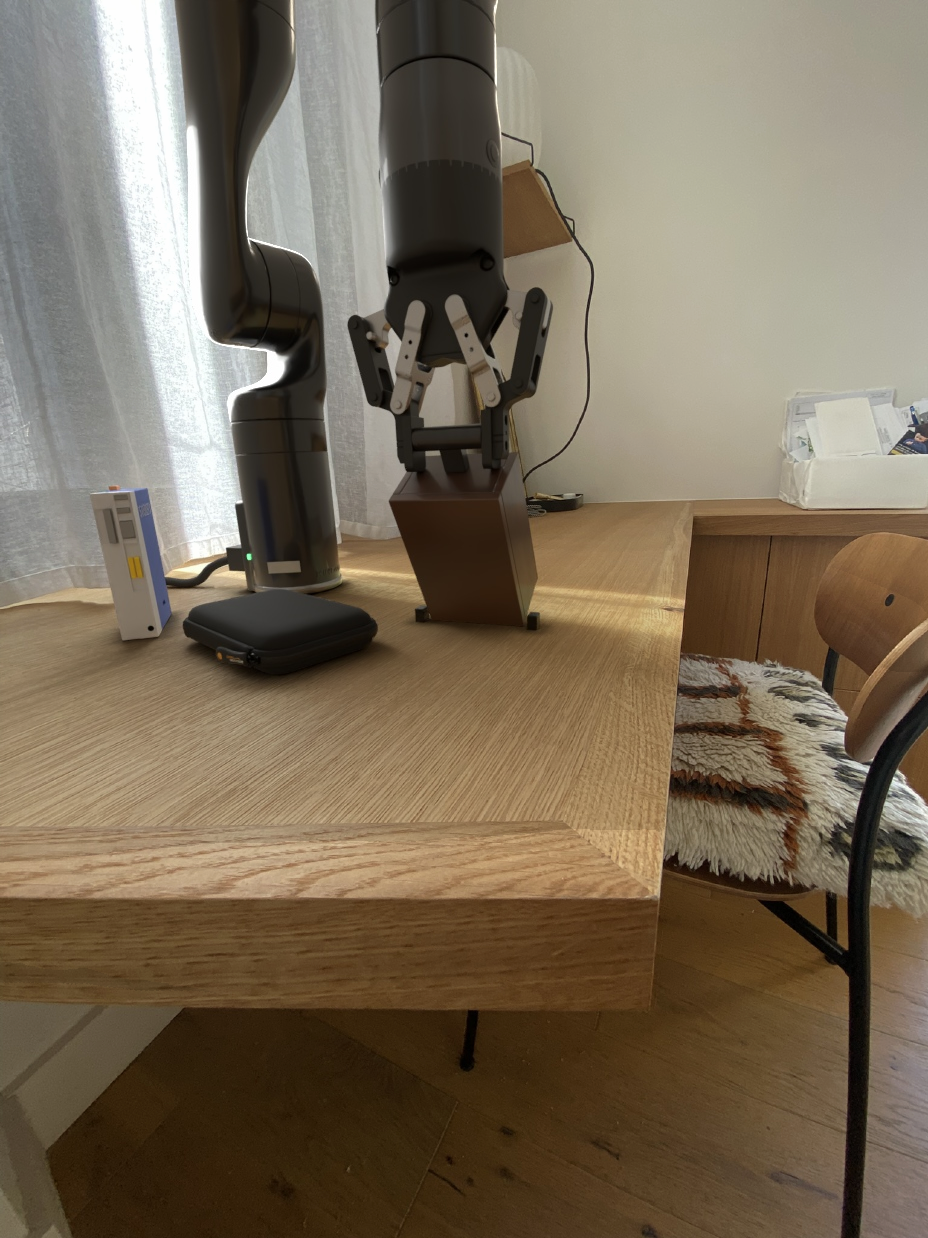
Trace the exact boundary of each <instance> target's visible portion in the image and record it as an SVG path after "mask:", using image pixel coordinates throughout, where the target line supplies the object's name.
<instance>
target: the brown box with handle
mask: <svg viewBox="0 0 928 1238" xmlns="http://www.w3.org/2000/svg"><path fill="white" fill-rule="evenodd" d="M412 444H413V447H414V449H415V450H416V451H417V452H422V451H425V452H439V454H440V455H426V469H425V471H424V472H407V471H405V473H404V475H403V476H402V478H401V480H400V481H399V483H398V484H397V486H396V488H395V489H394V491H393V492H392V495H391V496H390V497H389V499H388V504H389V507H390V509H391V512H392V515H393V518H394V521H395V524H396V526H397V529H398V531H399V534H400V538H401V540H402V543H403V546H404V548H405V551H406V554H407V557H408V559H409V562H410V565H411V567H412V570H413V573H414V576H415V579H416V581H417V583H418V586H419V589H420V592H421V596H422V597H423V600H424V603H425V606H427V609H428V611H429V618H430V619H431V620H432V621H443V622H457V623H472V624H487V625H499V626H500V625H501V626H517V627H524V626H525V622H526V620H527V615H528V614H529V609H530V606H531V601H532V599H533V596H534V592H535V588H536V586H537V582H538V579H539V576H538V568H537V562H536V557H535V551H534V544H533V538H532V532H531V525H530V519H529V513H528V507H527V500H526V494H525V488H524V482H523V481H524V480H523V476H522V469H521V462H520V456H519V452H518V451H509V454H508V456H507V459H501V467H500V468H499V469H484V468H483V466H482V453H467V450H482V447H481V422H480V423H467V424H466V423H465V424H451V425H436V426H434V425H433V426H424V427H417V428H414V430H413V432H412Z"/></svg>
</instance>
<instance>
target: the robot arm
mask: <svg viewBox="0 0 928 1238" xmlns="http://www.w3.org/2000/svg"><path fill="white" fill-rule="evenodd" d="M173 1H174V11H175V19H176V20H175V21H176V26H177V27H176V28H177V37H178V45H179V54H180V64H181V65H180V66H181V76H182V88H183V90H182V91H183V101H184V110H185V113H184V114H185V125H186V126H185V127H186V128H185V129H186V143H187V144H186V145H187V165H188V166H187V172H188V173H187V177H188V179H187V180H188V182H187V183H188V186H187V187H188V258H189V259H188V261H189V265H188V266H189V281H190V282H189V283H190V290H191V291H190V292H191V297H192V298H191V299H192V304H193V309H194V313H195V315H196V318H197V321H198V324H199V326H200V328H201V330H202V331H203V333H204V335H205V336H206V337H207V338H208V339H209V340H211V342H213V343H214V344H217V345H221V346H225V347H229V348H230V347H231V348H238V349H247V350H255V351H262V352H267V372H266V374H265V375H264V377H263V378H262V379H261V380H259V381H258V382H256V383H253V384H251V385H248V386H245V387H242V388H239V389H236V390H234V391H233V392H231V393H230V394H229V396H228V399H227V409H228V416H229V422H230V429H231V436H232V444H233V449H234V455H235V463H236V470H237V476H238V481H239V489H240V495H241V496H240V497H241V499H240V500H237V501H236V502H235V504H234V509H235V517H236V522H237V529H238V530H237V531H238V535H239V536H238V537H239V543H240V544H235V545H231V546H227V547H225V553H226V555H225V556H223V557H220V558H217V559H215V560H213V561H210V563H208V564H207V565H205V566H204V567H203V568H202V570H201V571H200V573H199V574H198V575H197V576H195V577H191V578H177V577H170V576H165V581H166V586H168V587H175V588H194V587H197V586H199V585H202V584H203V583H205V582H206V581H207V580H208V579H209V577H211V575H212V574H213V573H214V572H215V571H216V570H218V569H221V568H223V567H225V566H228V570H229V572H244V575H245V581H246V587H247V588H246V589H247V591H253V592H255V593H259V592H263V591H268V590H274V589H284V590H290V591H294V592H299V593H303V594H307V595H309V594H315V593H320V592H324V591H327V590H328V591H329V590H332V589H334V588H336V587H338V586H340V585H341V584H343V576H342V573H341V563H340V557H339V556H340V555H339V546H338V535H337V527H336V518H335V517H336V516H335V508H334V507H335V505H334V499H333V498H334V497H333V489H332V479H331V478H332V477H331V470H330V469H331V468H330V460H329V452H328V451H329V450H328V442H327V432H326V431H327V430H326V423H325V409H324V405H325V400H326V396H327V388H328V376H327V375H328V373H327V359H326V338H325V317H324V316H325V315H324V304H323V297H322V291H321V286H320V283H319V279H318V276H317V273H316V271H315V269H314V267H313V265H312V264H311V262H310V261H309V260H308V259H307V258H306V257H305V256H304V255H303V254H301V253H299V252H297V251H295V250H291V249H288V248H285V247H281V246H279V245H274V244H271V243H268V242H264V241H260V240H257V239H253V238H250V237H249V235H248V225H247V222H248V221H247V200H248V199H247V198H248V186H249V178H250V173H251V168H252V164H253V161H254V159H255V157H256V153H257V151H258V149H259V147H260V145H261V143H262V141H263V139H264V138H265V137H266V134H267V133H268V131H269V129H270V127H271V126H272V125H273V122H274V120H275V119H276V117H277V115H278V114H279V112H280V109H281V107H283V106H282V105H283V103H284V102H285V100H286V98H287V95H288V93H289V90H290V87H291V85H292V82H293V79H294V74H295V70H296V64H297V30H296V29H297V25H296V23H297V21H296V19H297V18H296V0H173ZM498 3H499V0H374V23H375V24H374V26H375V43H376V57H377V58H376V59H377V61H376V62H377V75H378V93H379V116H378V117H379V118H378V137H377V139H378V159H379V161H378V163H379V169H378V183H379V187H380V195H381V211H382V213H381V214H382V228H383V244H384V260H385V269H386V273H387V280H388V289H387V295H386V297H385V300H384V303H383V309H380V310H378V311H376V312H373V313H371V314H369V315H367V316H365V317H363V316H361V315H358V314H352V315H351V316H350V317H349V318H348V320H347V323H346V325H347V331H348V334H349V339H350V342H351V345H352V349H353V352H354V357H355V360H356V364H357V369H358V372H359V375H360V379H361V383H362V387H363V390H364V394H365V399H366V402H367V403H368V405H369V406H371V407H374V408H379V409H382V410H384V411H387V412H389V413H391V414H392V416H393V418H394V423H395V439H396V440H395V441H396V456H397V459H398V461H399V463H400V464H403V466H404V467H403V468H404V470H405V472H424V471H425V469H426V456H427V455H426V451H422V452H417V451H416V450H415V449H414V447H413V444H412V432H413V430H414V428H417V427H425V418H424V417H421V416H420V413H421V410H422V406H423V403H424V399H425V396H426V392H427V388H428V387H429V386H430V385H431V383H432V381H433V378H434V373H435V371H436V368H437V369H438V368H444V367H447V366H449V365H452V364H454V363H455V364H460V365H467V368H468V370H469V372H470V374H471V375H472V376H473V378H474V382H475V384H476V387H477V389H478V391H479V394H480V397H481V399H482V402H483V404H484V409H480V423H481V447H482V449H481V454H482V466H483V468H484V469H499V468H500V467H501V459H507V456H508V454H509V452H510V410H511V409H512V407H513V406H514V405H515V404H517V403H518V402H520V401H523V400H524V399H530V398H533V396H535V394H536V393H537V390H538V385H539V380H540V374H541V371H542V365H543V360H544V356H545V351H546V345H547V341H548V335H549V331H550V325H551V320H552V316H553V311H554V304H553V302H552V300H551V299H550V298H549V296H548V295H547V294H546V292H545V291H544V290H543V289H542V288H541V287H538V286H534V287H532V288H530V289H528V291H521V290H511V289H510V287H509V285H508V284H507V281H506V278H505V273H504V268H505V267H504V266H505V264H504V263H505V262H504V201H503V200H504V198H503V195H504V194H503V142H502V140H503V139H502V128H501V120H500V113H499V105H498V104H499V103H498V92H497V91H498V90H497V89H498V88H497V84H498V83H497V28H496V27H497V26H496V14H497V9H498ZM509 311H511V314H512V324H513V327H515V328H516V329H517V330H518V335H517V341H516V345H515V350H514V356H513V360H512V361H513V362H512V366H511V373H510V378H509V379H507V380H504V376H503V373H502V367H501V363H500V362H499V359H498V356H497V353H496V351H495V348H494V346H493V343H492V341H493V339H494V338H495V335H496V334H497V332H498V330H499V329H500V326H501V325H502V324H503V322H504V320H505V319H506V317H507V315H508V313H509ZM391 329H392V331H393V333H395V335H396V336H397V338H398V340H399V341H400V342H401V343H400V347H399V352H398V356H397V360H396V362H395V367H394V373H395V376H396V377H395V378H396V379H395V382H394V378H393V375H392V371H391V367H390V364H389V359H388V356H387V351H386V348H387V347H388V346H389V344H390V341H389V340H390V339H389V334H390V330H391Z"/></svg>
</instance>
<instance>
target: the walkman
mask: <svg viewBox="0 0 928 1238" xmlns="http://www.w3.org/2000/svg"><path fill="white" fill-rule="evenodd" d="M89 498H90V499H89V500H90V502H91V507H92V512H93V517H94V520H95V525H96V530H97V534H98V539H99V542H100V547H101V553H102V556H103V561H104V565H105V570H106V576H107V578H108V579H107V580H108V583H109V588H110V592H111V596H112V602H113V605H114V610H115V614H116V619H117V623H118V628H119V632H120V637H121V640H122V641H128V640H129V641H130V640H137V639H140V640H141V639H151V638H159V636H160V635H161V633H162V632H163V629H164V627H165V626H166V624H167V622H168V620H169V618H170V617H171V615H172V613H173V612H172V608H171V602H170V598H169V592H168V587H167V586H166V581H165V577H166V576H165V571H164V567H163V561H162V557H161V551H160V546H159V540H158V535H157V531H156V524H155V519H154V515H153V510H152V504H151V500H150V494H149V489H148V487H143V488H141V487H140V488H123V489H122V488H121V486H120V485H109V486H108V490H104V491H98V492H91V493H89Z"/></svg>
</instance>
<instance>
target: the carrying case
mask: <svg viewBox="0 0 928 1238" xmlns="http://www.w3.org/2000/svg"><path fill="white" fill-rule="evenodd" d="M182 629H183V633H184V636H185V637H186V638H188V639H191V640H194V641H195V642H198V643H199V644H202V645H204V646H206V647H208V648H209V649H212V650H214V651H215V657H216V658H217V660H218V661H219V662H220V663H222V664H232V665H239V666H242V667H247V668H249V669H252V668H253V669H256V670H258V671H261V672H262V673H264V674H265V673H266V674H268V675H285V674H290V673H292V672H297V671H299V670H302V669H305V668H309V667H312V666H315V665H317V664H321V663H324V662H326V661H330V660H333V659H335V658H339V657H343V656H344V655H348V654H352V653H355V652H357V651H360V650H363V649H365V648H366V647H368V646H369V645H370V644H371V643H372V641H373V639H374V638H375V637H376V636H377V634H378V632H379V624H378V622H377V620H376V619H375V618H374V617H371V615H370V614H369V612H368V611H365V610H364V609H363V608H361V607H357V606H354V605H350V604H346V603H342V602H339V601H335V600H331V599H327V598H323V597H319V596H315V595H311V594H303V593H299V592H294V591H290V590H284V589H274V590H268V591H263V592H259V593H256V592H255V593H250V594H245V595H240V596H234V597H230V598H225V599H221V600H217V601H216V600H215V601H212V602H207V603H202V604H199V605H196V606H194V607H192V608H191V609H190V611H189V613H188V615H187V617H185V618H184V619H183V621H182Z"/></svg>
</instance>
